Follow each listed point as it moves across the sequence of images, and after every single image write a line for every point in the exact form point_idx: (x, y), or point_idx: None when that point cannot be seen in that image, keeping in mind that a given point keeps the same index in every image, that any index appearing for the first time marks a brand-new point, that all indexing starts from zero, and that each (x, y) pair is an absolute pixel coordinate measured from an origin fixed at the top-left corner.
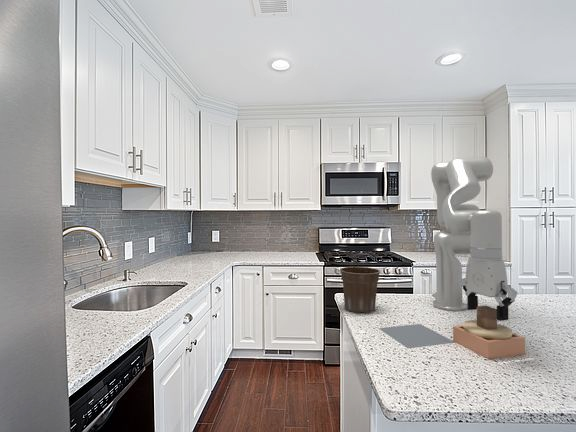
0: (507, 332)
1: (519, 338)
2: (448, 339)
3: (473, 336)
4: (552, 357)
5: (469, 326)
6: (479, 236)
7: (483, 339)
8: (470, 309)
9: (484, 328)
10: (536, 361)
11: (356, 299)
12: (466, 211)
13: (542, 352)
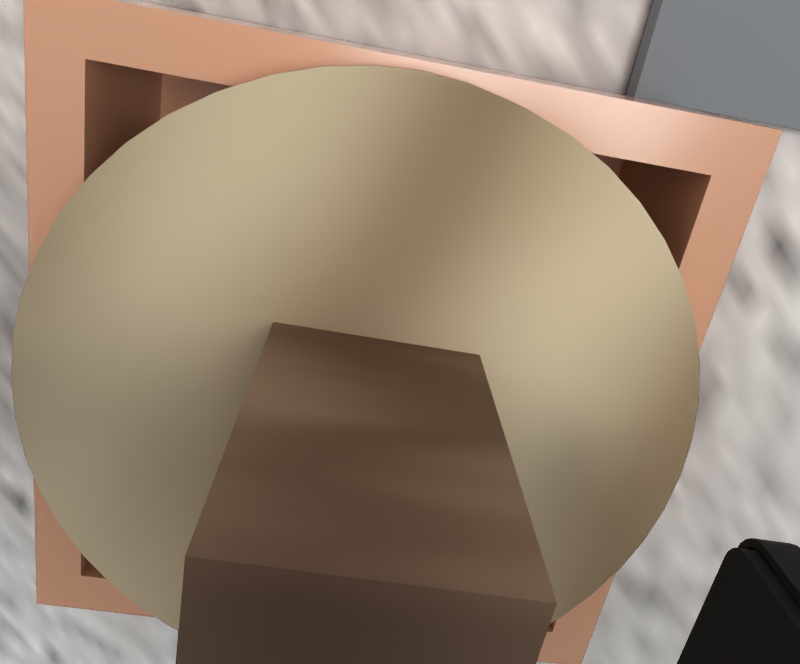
0: (86, 486)
1: (36, 531)
2: (739, 89)
3: (337, 45)
4: (36, 627)
5: (517, 206)
6: None
7: (140, 26)
8: (731, 562)
9: (325, 334)
10: (7, 451)
11: None
12: None
13: (133, 651)
